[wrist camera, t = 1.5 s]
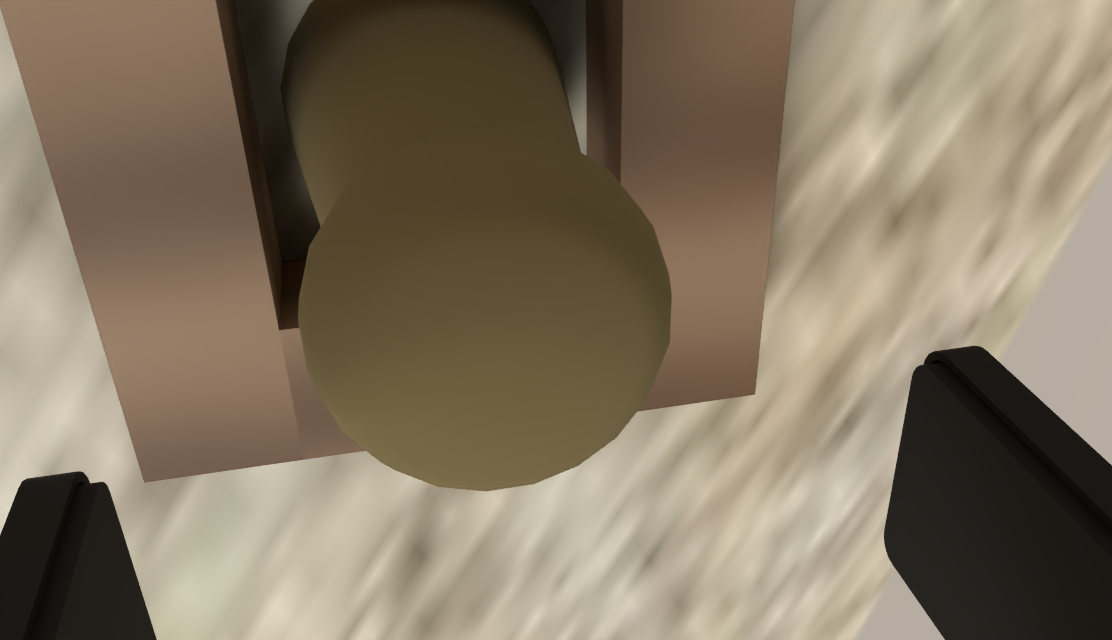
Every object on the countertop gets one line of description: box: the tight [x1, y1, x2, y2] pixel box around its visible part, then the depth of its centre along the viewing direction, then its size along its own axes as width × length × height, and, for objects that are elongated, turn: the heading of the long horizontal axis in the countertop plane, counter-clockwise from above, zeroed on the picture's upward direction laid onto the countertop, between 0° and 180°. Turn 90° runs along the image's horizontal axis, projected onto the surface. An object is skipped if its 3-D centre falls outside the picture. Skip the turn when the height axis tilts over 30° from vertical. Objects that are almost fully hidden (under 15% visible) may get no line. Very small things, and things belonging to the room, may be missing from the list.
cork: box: [281, 0, 672, 491], centre depth 18 cm, size 6×6×11 cm
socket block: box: [0, 0, 795, 482], centre depth 21 cm, size 14×14×3 cm
